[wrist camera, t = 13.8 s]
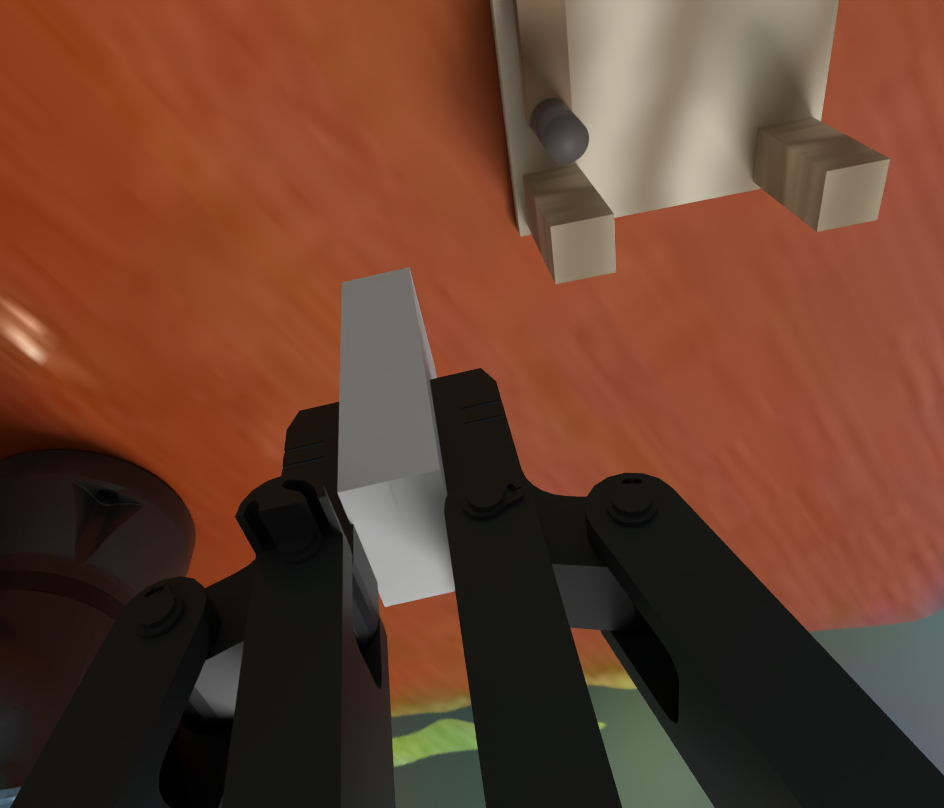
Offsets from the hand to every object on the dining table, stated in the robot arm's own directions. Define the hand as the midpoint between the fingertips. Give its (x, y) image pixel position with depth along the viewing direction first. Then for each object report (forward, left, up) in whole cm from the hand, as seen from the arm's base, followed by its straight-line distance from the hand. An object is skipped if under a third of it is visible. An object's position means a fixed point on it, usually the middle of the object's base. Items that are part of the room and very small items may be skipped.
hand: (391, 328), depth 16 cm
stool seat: (+15, -1, -24) cm, 28 cm away
